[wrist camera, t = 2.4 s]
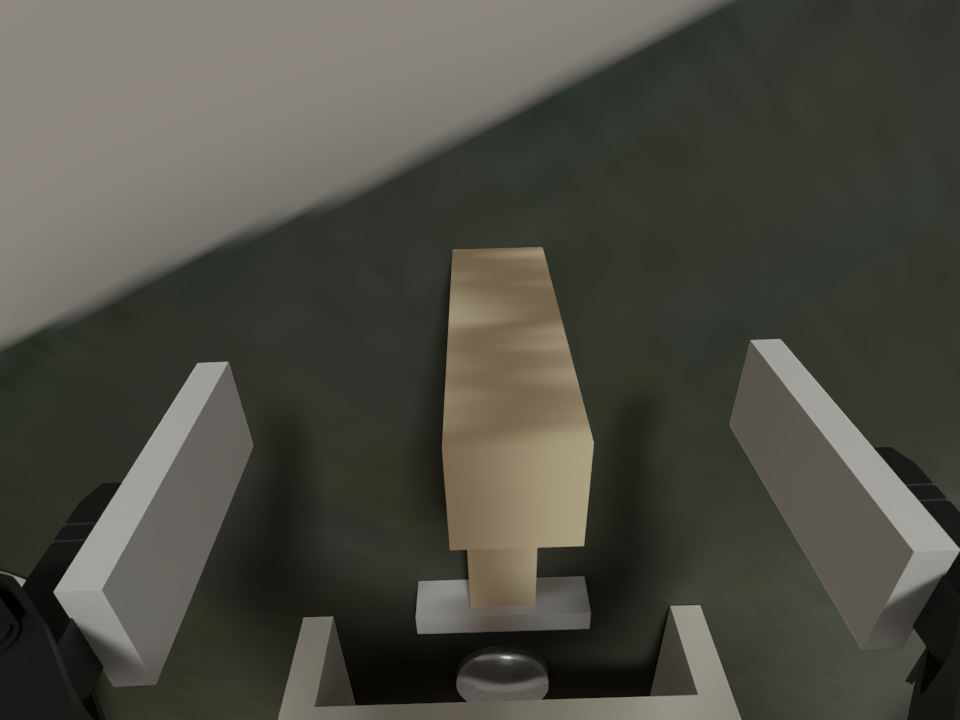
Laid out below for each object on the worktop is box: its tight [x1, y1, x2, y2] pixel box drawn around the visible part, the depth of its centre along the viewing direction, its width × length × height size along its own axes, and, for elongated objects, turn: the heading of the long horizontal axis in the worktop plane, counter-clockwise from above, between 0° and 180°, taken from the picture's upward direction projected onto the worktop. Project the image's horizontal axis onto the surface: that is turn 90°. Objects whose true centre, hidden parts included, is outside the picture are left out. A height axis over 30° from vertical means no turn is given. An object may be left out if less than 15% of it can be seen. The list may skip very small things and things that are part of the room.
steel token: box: [456, 645, 549, 702], centre depth 34 cm, size 5×5×1 cm
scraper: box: [416, 247, 594, 634], centre depth 21 cm, size 8×18×10 cm, turn 2°
